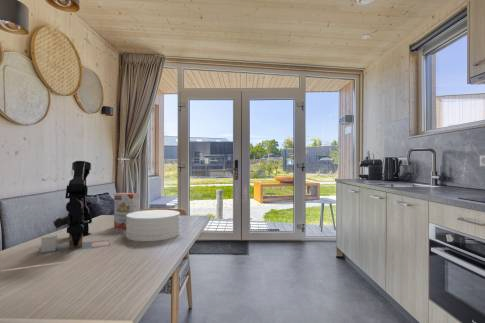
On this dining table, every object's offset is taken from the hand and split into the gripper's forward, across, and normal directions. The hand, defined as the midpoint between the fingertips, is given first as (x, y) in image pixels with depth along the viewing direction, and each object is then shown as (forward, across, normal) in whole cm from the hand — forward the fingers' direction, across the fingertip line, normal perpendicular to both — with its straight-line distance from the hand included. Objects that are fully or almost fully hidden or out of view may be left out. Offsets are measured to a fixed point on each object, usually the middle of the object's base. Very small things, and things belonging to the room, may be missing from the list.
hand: (75, 244), depth 124 cm
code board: (+2, 0, 0) cm, 2 cm away
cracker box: (+2, -35, +25) cm, 43 cm away
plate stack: (+2, -10, +36) cm, 38 cm away
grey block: (+1, 0, -10) cm, 10 cm away
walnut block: (+1, 0, 0) cm, 1 cm away
